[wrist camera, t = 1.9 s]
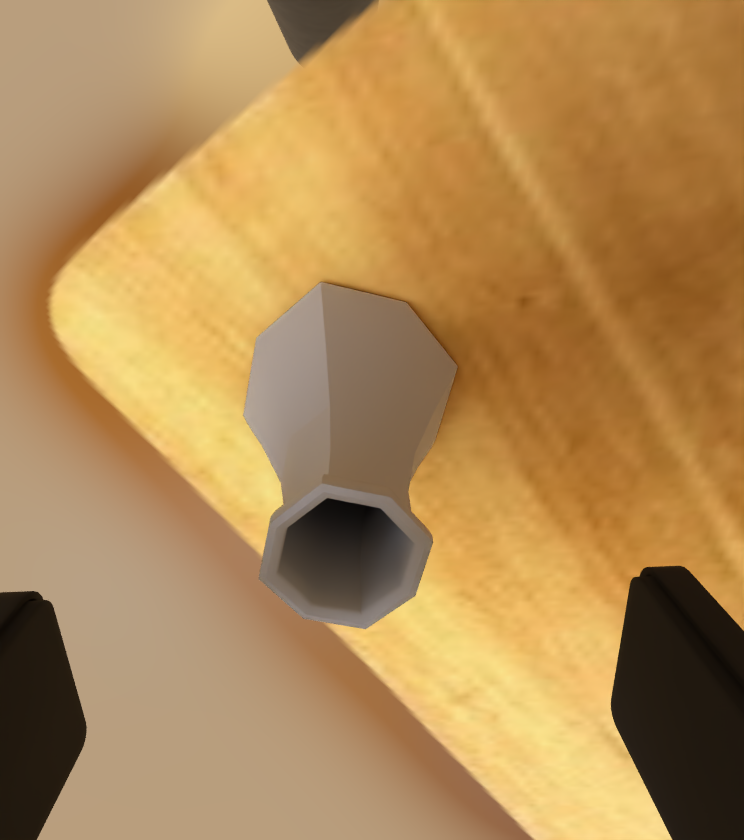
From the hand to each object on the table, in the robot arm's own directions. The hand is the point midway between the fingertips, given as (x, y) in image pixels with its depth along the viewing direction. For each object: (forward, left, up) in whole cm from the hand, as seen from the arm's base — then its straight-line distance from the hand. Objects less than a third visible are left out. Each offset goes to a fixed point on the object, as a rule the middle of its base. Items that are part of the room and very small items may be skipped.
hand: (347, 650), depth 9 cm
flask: (0, 0, -12) cm, 12 cm away
